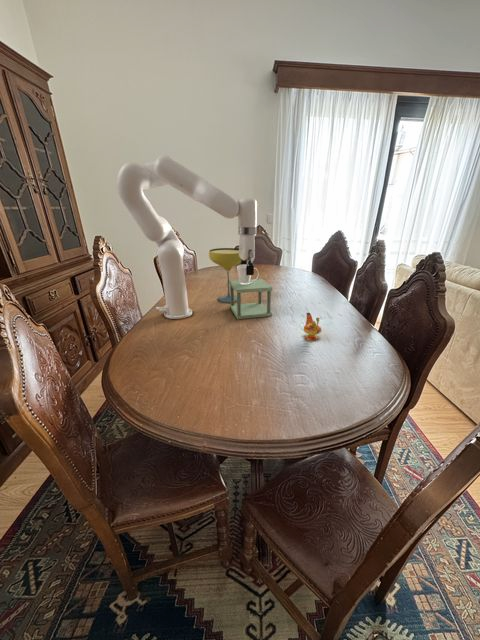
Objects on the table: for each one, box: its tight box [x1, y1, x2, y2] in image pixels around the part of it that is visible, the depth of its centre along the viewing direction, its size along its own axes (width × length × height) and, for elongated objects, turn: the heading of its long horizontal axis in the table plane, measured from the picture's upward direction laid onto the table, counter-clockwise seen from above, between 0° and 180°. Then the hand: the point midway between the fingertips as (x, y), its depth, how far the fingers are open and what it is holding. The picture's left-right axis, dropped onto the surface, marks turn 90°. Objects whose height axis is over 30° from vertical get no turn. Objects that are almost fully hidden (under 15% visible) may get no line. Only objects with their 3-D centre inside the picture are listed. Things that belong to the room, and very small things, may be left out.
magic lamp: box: [303, 312, 323, 342], centre depth 111 cm, size 7×18×11 cm, turn 3°
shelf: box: [229, 278, 273, 320], centre depth 134 cm, size 16×16×14 cm
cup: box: [236, 264, 260, 285], centre depth 129 cm, size 7×10×8 cm
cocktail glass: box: [208, 247, 241, 304], centre depth 147 cm, size 18×18×25 cm
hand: (247, 272), depth 128 cm, fingers open, 9 cm apart
